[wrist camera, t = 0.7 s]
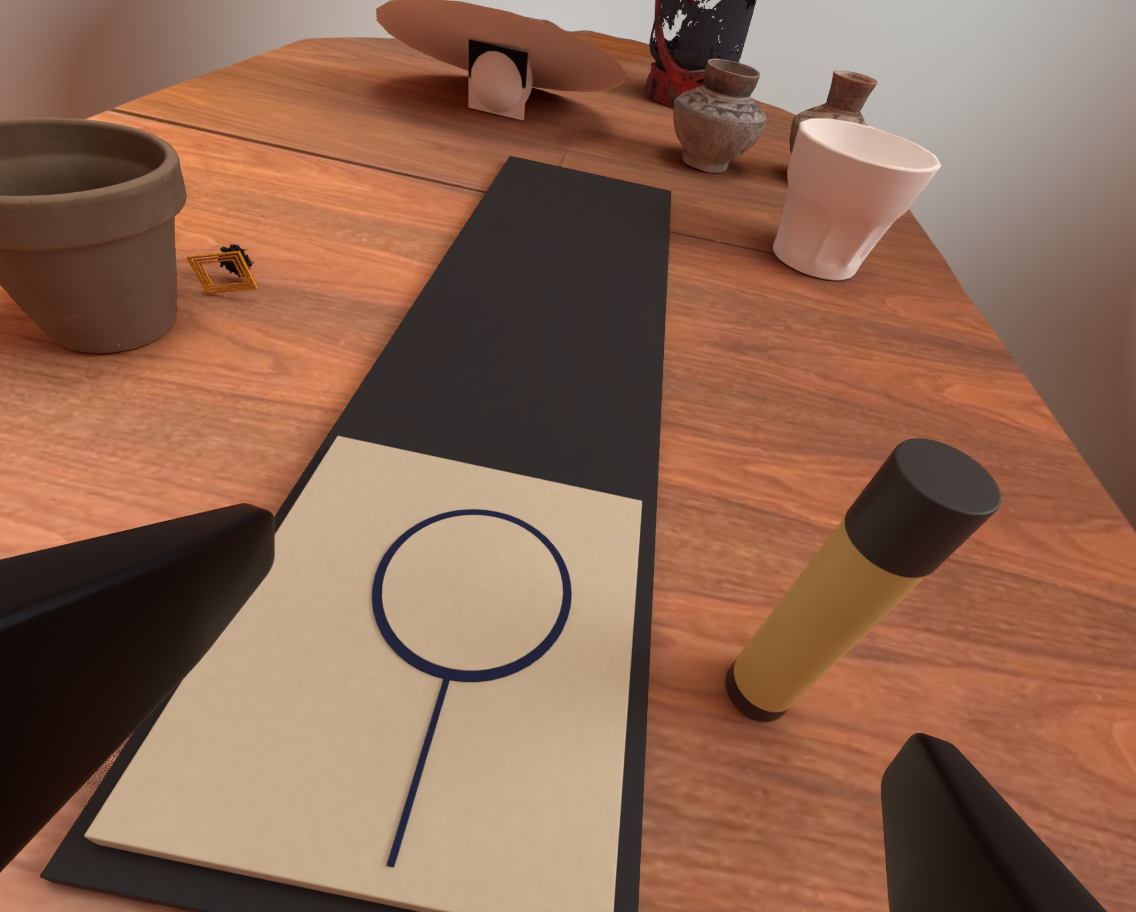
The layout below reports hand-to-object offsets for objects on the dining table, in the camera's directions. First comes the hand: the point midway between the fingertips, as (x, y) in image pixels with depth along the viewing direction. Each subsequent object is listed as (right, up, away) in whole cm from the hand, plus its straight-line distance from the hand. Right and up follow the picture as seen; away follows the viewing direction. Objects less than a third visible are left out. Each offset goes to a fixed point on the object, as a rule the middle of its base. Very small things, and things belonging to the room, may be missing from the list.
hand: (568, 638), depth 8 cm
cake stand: (-9, +48, +70) cm, 85 cm away
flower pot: (-28, +10, +29) cm, 41 cm away
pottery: (+24, +39, +68) cm, 82 cm away
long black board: (-2, +10, +34) cm, 35 cm away
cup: (+25, +22, +52) cm, 62 cm away
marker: (+8, -8, +18) cm, 21 cm away
